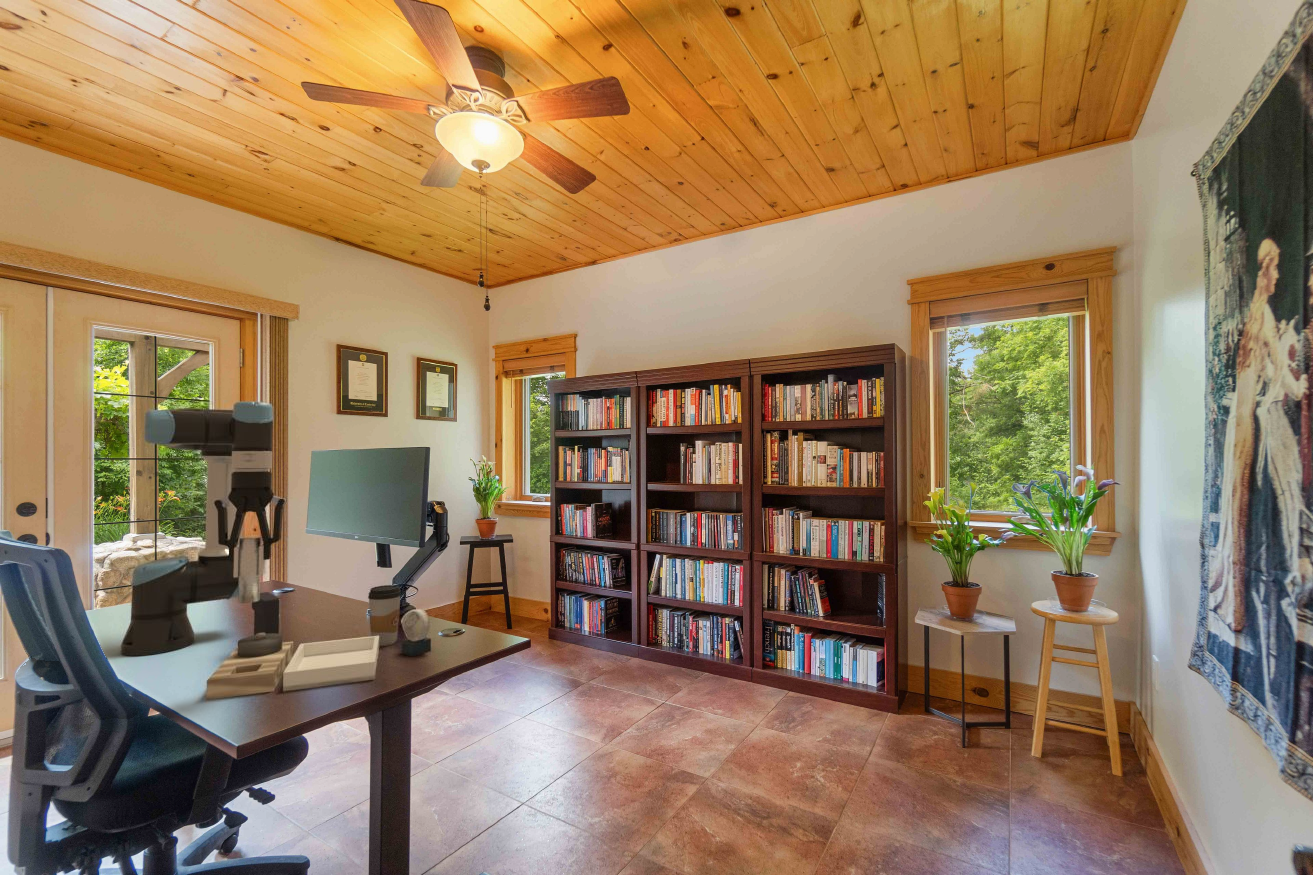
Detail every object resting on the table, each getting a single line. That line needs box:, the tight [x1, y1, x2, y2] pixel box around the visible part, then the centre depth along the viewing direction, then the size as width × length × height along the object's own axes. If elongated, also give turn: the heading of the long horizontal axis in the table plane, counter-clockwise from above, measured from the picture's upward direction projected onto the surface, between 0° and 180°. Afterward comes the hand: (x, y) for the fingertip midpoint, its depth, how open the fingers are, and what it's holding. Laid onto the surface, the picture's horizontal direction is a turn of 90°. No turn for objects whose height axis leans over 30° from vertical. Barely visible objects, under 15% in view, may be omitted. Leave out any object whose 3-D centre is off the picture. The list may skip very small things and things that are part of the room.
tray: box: [282, 635, 380, 692], centre depth 143 cm, size 22×18×4 cm
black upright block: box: [251, 591, 282, 636], centre depth 154 cm, size 11×4×15 cm, turn 47°
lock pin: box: [237, 536, 262, 604], centre depth 132 cm, size 4×4×14 cm
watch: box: [400, 608, 432, 658], centre depth 155 cm, size 6×8×11 cm
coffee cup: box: [367, 584, 402, 647], centre depth 163 cm, size 8×8×15 cm
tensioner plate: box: [205, 633, 294, 701], centre depth 138 cm, size 24×12×8 cm, turn 23°
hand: (249, 575), depth 132 cm, fingers closed on lock pin, 4 cm apart
